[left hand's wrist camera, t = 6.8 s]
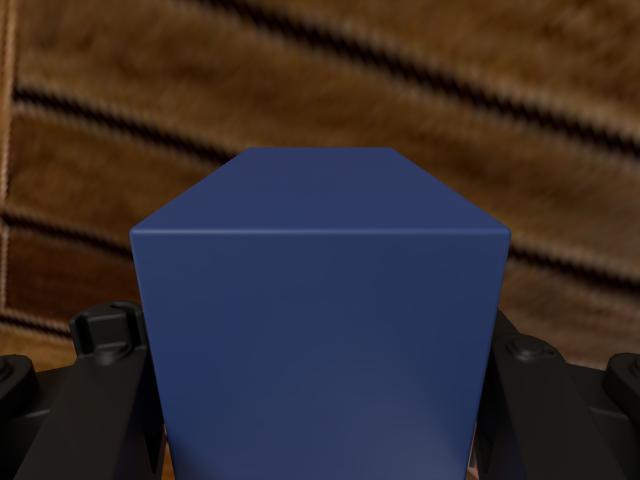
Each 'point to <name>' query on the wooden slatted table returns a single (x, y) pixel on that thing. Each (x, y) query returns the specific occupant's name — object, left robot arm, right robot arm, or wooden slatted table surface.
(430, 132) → the wooden slatted table surface
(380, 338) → the bar
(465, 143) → the wooden slatted table surface
